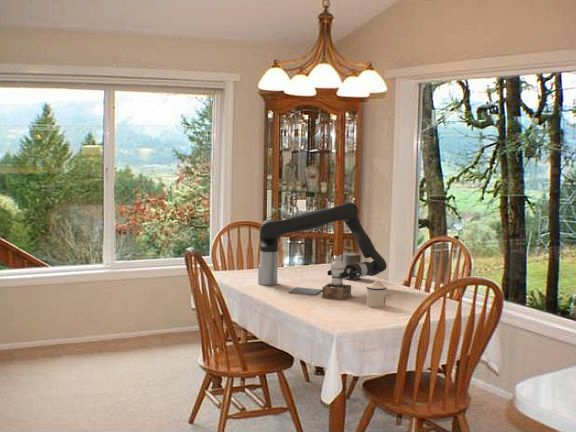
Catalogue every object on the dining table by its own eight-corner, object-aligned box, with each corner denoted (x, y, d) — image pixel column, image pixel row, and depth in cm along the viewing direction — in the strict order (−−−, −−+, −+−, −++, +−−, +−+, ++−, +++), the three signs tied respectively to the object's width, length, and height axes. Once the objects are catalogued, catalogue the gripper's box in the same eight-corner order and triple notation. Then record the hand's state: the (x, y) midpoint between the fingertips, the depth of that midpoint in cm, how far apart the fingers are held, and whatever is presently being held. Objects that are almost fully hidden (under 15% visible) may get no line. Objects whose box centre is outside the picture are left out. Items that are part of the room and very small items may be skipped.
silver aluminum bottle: (334, 294, 347) (335, 253, 345) (346, 296, 344) (347, 255, 341) (327, 296, 342) (328, 255, 340) (339, 298, 338) (340, 257, 336)
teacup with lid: (388, 307, 322) (389, 282, 320) (369, 308, 320) (370, 282, 319) (380, 301, 333) (381, 277, 332) (361, 302, 332) (362, 277, 330)
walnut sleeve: (322, 297, 340) (322, 287, 339) (328, 293, 350) (328, 283, 349) (345, 299, 336) (345, 289, 336) (350, 295, 346) (351, 285, 345)
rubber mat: (288, 292, 349) (288, 291, 349) (296, 288, 360) (296, 287, 360) (315, 295, 344) (315, 294, 344) (322, 290, 356) (322, 289, 355)
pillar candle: (363, 278, 390) (363, 251, 389) (355, 280, 382) (355, 253, 380) (347, 276, 395) (348, 249, 394) (339, 279, 387) (339, 251, 386)
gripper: (345, 261, 356) (323, 264, 345) (367, 265, 347) (346, 268, 335) (344, 275, 357) (323, 280, 346) (367, 280, 347) (345, 284, 336)
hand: (334, 274), depth 340 cm, fingers open, 8 cm apart
